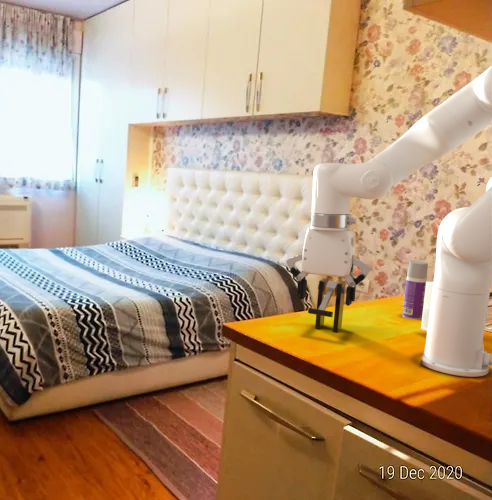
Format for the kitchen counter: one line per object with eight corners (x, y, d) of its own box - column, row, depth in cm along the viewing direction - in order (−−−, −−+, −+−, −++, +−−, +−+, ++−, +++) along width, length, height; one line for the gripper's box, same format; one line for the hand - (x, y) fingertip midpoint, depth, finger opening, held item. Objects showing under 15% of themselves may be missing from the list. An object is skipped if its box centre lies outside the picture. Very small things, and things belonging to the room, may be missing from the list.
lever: (331, 320, 110) (331, 311, 109) (308, 316, 112) (307, 307, 111) (344, 291, 118) (344, 282, 117) (322, 288, 121) (322, 279, 120)
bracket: (340, 343, 114) (346, 287, 112) (304, 336, 118) (309, 282, 116) (349, 332, 122) (355, 279, 120) (315, 326, 126) (320, 275, 124)
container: (424, 320, 134) (431, 264, 132) (405, 319, 135) (411, 263, 133) (418, 315, 139) (425, 261, 136) (400, 314, 140) (406, 260, 137)
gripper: (376, 223, 107) (371, 303, 109) (294, 219, 116) (290, 292, 118) (370, 225, 100) (365, 310, 103) (283, 221, 110) (280, 299, 112)
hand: (325, 301), depth 111 cm, fingers open, 9 cm apart
